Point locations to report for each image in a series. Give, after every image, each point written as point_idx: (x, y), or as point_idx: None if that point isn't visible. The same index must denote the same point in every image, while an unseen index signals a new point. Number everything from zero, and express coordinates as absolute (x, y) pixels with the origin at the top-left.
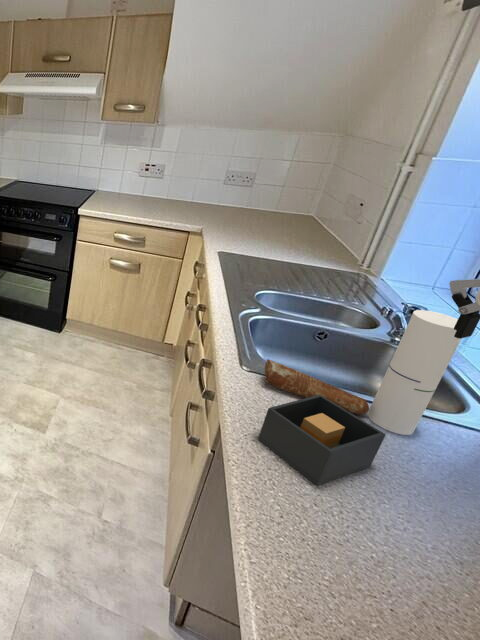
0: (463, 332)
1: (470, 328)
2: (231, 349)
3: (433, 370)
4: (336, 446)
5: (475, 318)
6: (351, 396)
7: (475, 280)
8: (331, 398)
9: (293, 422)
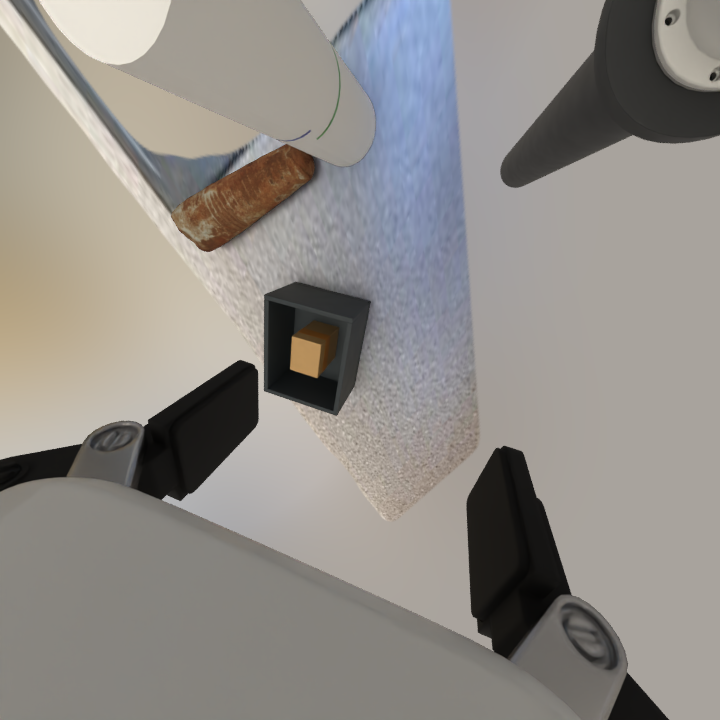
0: (241, 441)
1: (230, 418)
2: (131, 173)
3: (299, 102)
4: (334, 333)
5: (190, 459)
6: (280, 174)
7: None
8: (272, 205)
9: (288, 329)
